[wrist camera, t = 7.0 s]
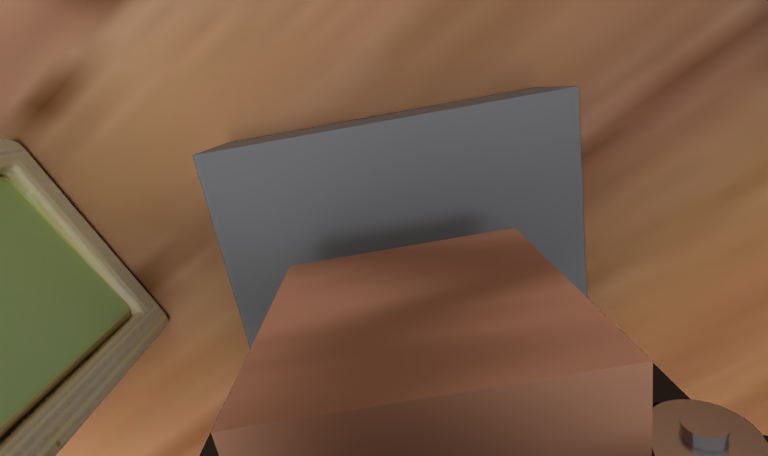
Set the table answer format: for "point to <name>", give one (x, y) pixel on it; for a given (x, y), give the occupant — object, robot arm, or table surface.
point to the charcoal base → (398, 187)
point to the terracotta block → (438, 360)
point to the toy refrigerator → (59, 312)
